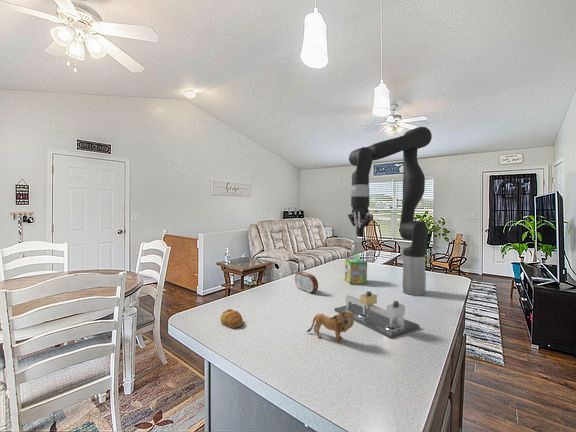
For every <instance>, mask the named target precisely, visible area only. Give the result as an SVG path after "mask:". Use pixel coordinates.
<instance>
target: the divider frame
mask: <svg viewBox="0 0 576 432" xmlns="http://www.w3.org/2000/svg"><path fill="white" fill-rule="evenodd" d="M352 304H356V305H359V306H361V307H363V304H361V303H360V299H359V298H357V297H354V296H352V295H349V294H347V295H345V306H347V307H352ZM366 309H368V310H371V311H373V312H375V313H378V314H380V315H383V316H385V317H387V318H390V325H389V326H390V327H393V320H394V321H396V328H397V329H398V330H400V331H401V330H404V319H405V317H404V316H405V315H406V305H404V304H401V303H400V302H399V301H398V300H392V303H391V304H388V305H386V309H385V308H382V307H379V306H378V305H375V304H372V305H368V306H366Z"/></svg>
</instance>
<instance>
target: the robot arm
mask: <svg viewBox="0 0 576 432" xmlns="http://www.w3.org/2000/svg"><path fill="white" fill-rule="evenodd" d="M432 135H433V134H432V132H431V130H430V129H429V128H428V127H426V126H419V127H415V128H412V129H409V130H407V131H406V132H404V134H403V135H401V136H397V137H394V138H389V139H385V140H382V141H379V142H376V143H373V144H371V145H369V146H364V147H363V146H362V147H360V148H357V149H354V150H352V151H351V152H350V153H349V155H348V162H349V163H350V164H351V165H352V166H354V167H356V169H355V171H353V172H352V174H351V189H350V192H351V193H350V196H351V197H350V204H351V205H350V206H351V212H350V214H347V217H348V219H349V221H350V222H351V224H352V226H353V227H355V228H356V231H355V232H356V237H359V238H361V237H364V233H365V230H364V229H365V228H366V227H368V226H369V225H370V223H371V221H372V220H373V218H374V215H373V214H370V210H369V207H370V173H371V169H372V163H373V161H379V160H381V159H384V158H388V157H390V156H392V155H395V154H398V153H401V152H402V155H403V157H402V158H403V174H402V175H403V177H402V204H401V205H402V206H401V215H400V223H399V235H400V237H401V239H402V240H405V241H411V245H410V246H408V247H405V248H403V250H402V293H404V294H407V295H410V296H423V295H425V293H427V292H426V291H427V289H426V287H427V285H426V284H427V277H426V276H427V272H426V251H427V250H428V249H427V248H428V236H429V230H428V225H427V224H426V222H425V221H422V220H414V219H415V218H414V217H415V212H416V208H417V206H418V204H419V203H420V202H421V200H422V198H423V196H424V194H425V189H426V188H425V185H426V179H425V178H426V176H425V174H424V172H423V170H422V168H421V166H420V164H419V161H418V150H419V149H422V148H424V147H427V146H428V145H429V144H430V143H431V141H432V138H433V136H432Z"/></svg>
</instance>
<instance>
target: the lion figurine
mask: <svg viewBox="0 0 576 432" xmlns="http://www.w3.org/2000/svg"><path fill="white" fill-rule="evenodd" d="M354 323H355V321H354V319H353V314H352V313H351V312H350V311H347V310H346V311H344V312H342V313H338V314H335V315H333V316H327V315H325V314H324V313H316V314H315V315H314V316H313V320H312V324H311V326H310V328H309V329H307V330H306V333H310V332H311V331H312V329H313V332H315V334H316V337H317V338H318V339H321V338H323V337H322V335H321V334H320V329H321V327H322V325H323V327H325V328H326V330H329V331H334V333H335V342H336V343H337V344H341V343H342V341H341V340H342V339H343V337H342V336H341V333H346V332H347V331H348V330H349V329H350V328H352V327H353V326H354Z"/></svg>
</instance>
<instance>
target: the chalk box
mask: <svg viewBox="0 0 576 432" xmlns="http://www.w3.org/2000/svg"><path fill="white" fill-rule="evenodd" d="M344 261H345V262H344V281H346V282H347V283H348V284H349V285H350V284H351V285H367V284H368V280H367V279H368V262H367V261H366V260H365V259H362V258H360V254H358V253H355V256H354V258H345V260H344Z"/></svg>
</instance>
